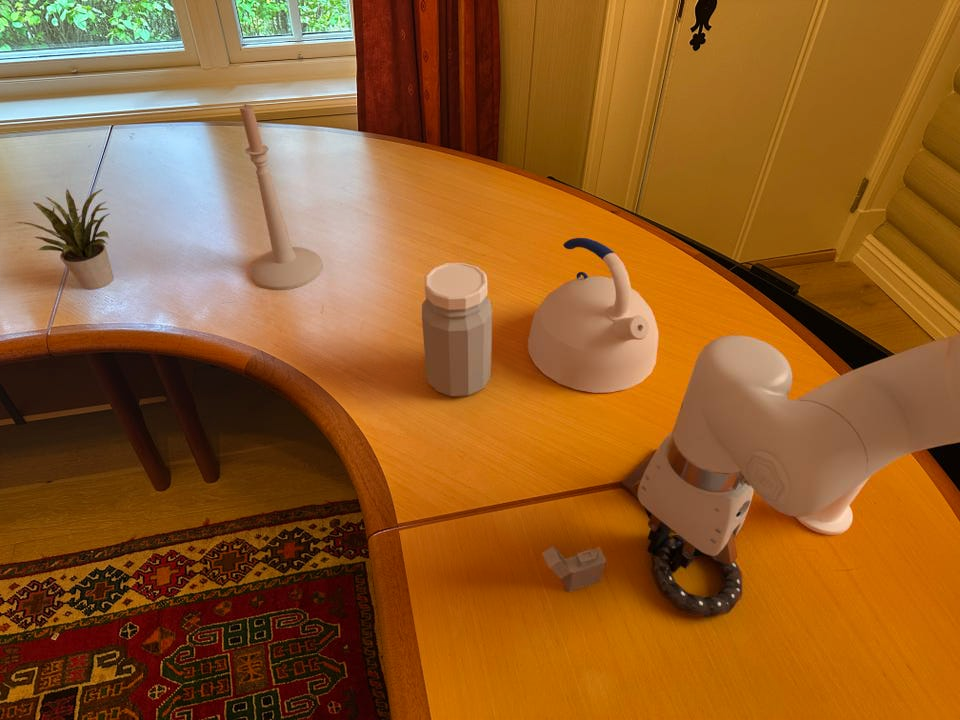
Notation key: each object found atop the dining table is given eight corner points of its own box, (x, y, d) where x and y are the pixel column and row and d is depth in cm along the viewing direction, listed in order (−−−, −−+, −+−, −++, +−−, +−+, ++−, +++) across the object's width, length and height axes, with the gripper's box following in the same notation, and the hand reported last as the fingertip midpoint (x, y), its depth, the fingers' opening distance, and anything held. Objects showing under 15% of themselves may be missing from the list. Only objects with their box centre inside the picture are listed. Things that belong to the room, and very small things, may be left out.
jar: (436, 408, 86) (429, 308, 74) (418, 364, 93) (410, 265, 81) (500, 392, 89) (504, 293, 76) (478, 350, 95) (479, 253, 83)
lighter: (594, 567, 68) (604, 528, 63) (601, 581, 67) (612, 543, 62) (536, 586, 67) (541, 548, 61) (542, 601, 65) (548, 563, 60)
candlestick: (336, 268, 112) (305, 103, 92) (276, 298, 105) (228, 127, 85) (297, 243, 119) (259, 83, 98) (238, 270, 112) (185, 104, 91)
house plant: (159, 257, 115) (125, 176, 104) (132, 300, 105) (91, 216, 94) (82, 258, 114) (40, 177, 103) (47, 303, 104) (-4, 218, 93)
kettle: (569, 412, 86) (584, 312, 74) (505, 327, 100) (509, 231, 87) (684, 372, 92) (716, 273, 80) (609, 297, 106) (626, 203, 94)
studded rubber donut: (755, 580, 67) (761, 571, 66) (707, 639, 63) (712, 630, 61) (682, 524, 73) (686, 514, 71) (632, 574, 68) (636, 565, 66)
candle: (777, 488, 76) (863, 338, 59) (830, 483, 77) (930, 333, 60) (806, 538, 71) (908, 389, 54) (862, 532, 72) (981, 383, 55)
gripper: (810, 484, 54) (748, 583, 67) (661, 389, 63) (631, 492, 76) (768, 533, 51) (710, 628, 63) (616, 425, 59) (592, 527, 72)
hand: (667, 553), depth 69 cm, fingers closed on studded rubber donut, 2 cm apart
